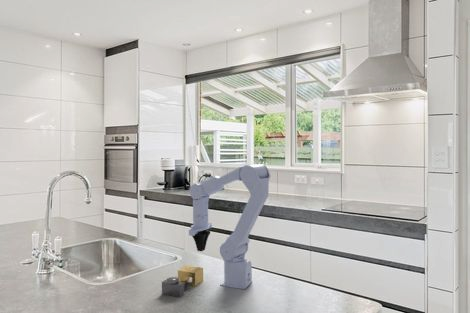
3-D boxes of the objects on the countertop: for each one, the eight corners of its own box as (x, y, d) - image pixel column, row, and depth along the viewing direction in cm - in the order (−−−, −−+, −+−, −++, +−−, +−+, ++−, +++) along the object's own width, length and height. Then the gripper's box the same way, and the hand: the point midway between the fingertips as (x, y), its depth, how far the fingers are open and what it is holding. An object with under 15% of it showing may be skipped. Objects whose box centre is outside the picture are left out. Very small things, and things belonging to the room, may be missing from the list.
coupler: (193, 287, 127) (192, 273, 127) (178, 298, 118) (178, 282, 118) (175, 285, 129) (175, 271, 129) (160, 294, 121) (160, 279, 121)
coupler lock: (203, 280, 134) (203, 267, 133) (195, 286, 128) (195, 273, 128) (186, 278, 136) (186, 265, 136) (178, 283, 131) (177, 270, 131)
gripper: (200, 211, 147) (200, 244, 148) (181, 217, 134) (182, 254, 134) (216, 212, 144) (216, 246, 145) (198, 218, 131) (198, 256, 131)
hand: (201, 250), depth 139 cm, fingers closed
